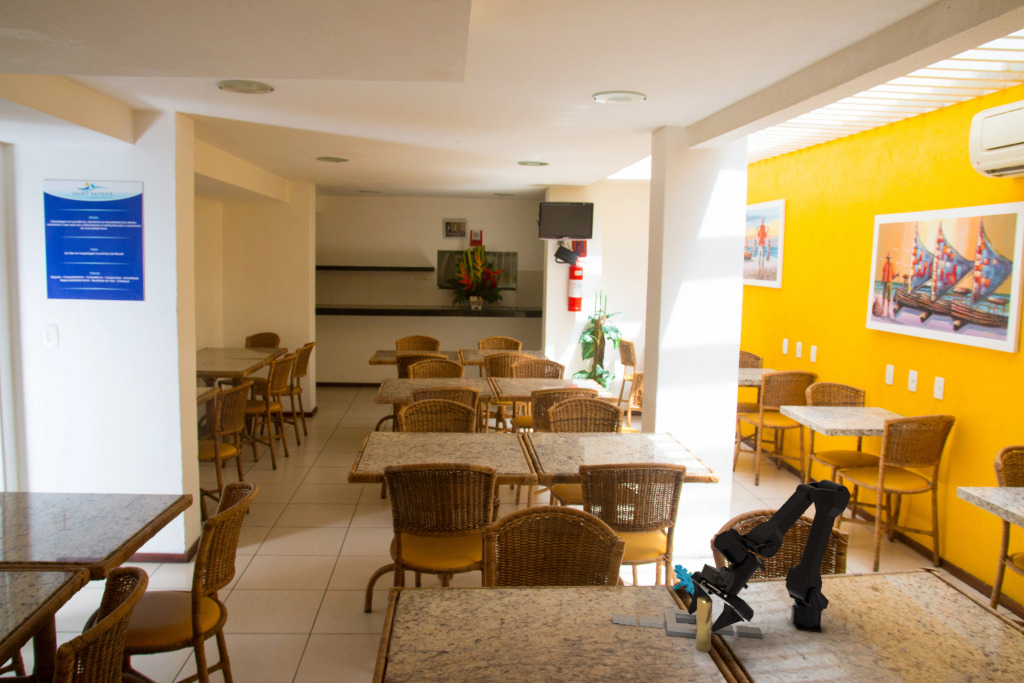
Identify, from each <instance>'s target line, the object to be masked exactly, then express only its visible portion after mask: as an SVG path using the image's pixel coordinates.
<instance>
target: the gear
mask: <svg viewBox="0 0 1024 683" xmlns="http://www.w3.org/2000/svg"><path fill="white" fill-rule="evenodd" d="M673 567H674V569H673V572H675V573H676V574H675V577H676V579H677V580H679V583H677V584H676V585H675V586H673V587H672V589H673V590H674V591H677V590H678V589H679V588H681V587H684V586H685V587H686V588H685V590H686V592H687V593H688V594H689V593H690V594H691V595H692V596H693V594H694V585H693V584H692V581H693V580H692V579H691V578H690V577H691V576H692V575H693V572H692V571H689V570H688V569H687V567H683V565H682V564H675V565H674V566H673Z"/></svg>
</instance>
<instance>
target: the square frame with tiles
mask: <svg viewBox="0 0 1024 683" xmlns="http://www.w3.org/2000/svg"><path fill="white" fill-rule="evenodd" d="M688 610H689V609H688ZM688 610H687V609H678V608H677V609H675V608H665V626H666V636H671V637H678V638H679V637H680V638H689V639H690V638H691V639H696V621H697V611H695V612H694V613H693V614H691V615H690V614H689V613H688ZM612 614H613V615H612V624H614V623H619V624H618V625H624V624H625V625H626V626H637V615H633V614H623V613H612ZM638 620H639V622H638V623H639V627H644V628H645V627H646V628H656V629H663V628H664V621H663V618H662V617H654V616H645V615H644V616H643V615H639V619H638ZM714 623H715V622H712V623H711V627H712V626H713V624H714ZM735 631H736V635H737V637H744V638H745V637H746V638H755V639H763V632H762V629H761V627H756V626H746V625H745V626H744V625H735V629H734V626H733V624H731V625H729V626H726V627H724V628H722V629H720V630H718V631H715V632H713V631H712V630H711V634H714V633H717V634H716V635H725V636H726V635H727V636H735Z"/></svg>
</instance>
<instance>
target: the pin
mask: <svg viewBox="0 0 1024 683" xmlns="http://www.w3.org/2000/svg"><path fill="white" fill-rule="evenodd" d="M712 617H713V599H712V598H708V597H699V598H698V599H697V621H696V624H695V625H696V638H695V646H694V647H695V649H696V650H697V651H699V652H703V653H706V652H707V653H708V652H710V651H711V644H712V643H711V641H712V638H711V637H712V633H711V623H713V622H712V620H713V618H712Z"/></svg>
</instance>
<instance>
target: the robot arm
mask: <svg viewBox="0 0 1024 683" xmlns="http://www.w3.org/2000/svg"><path fill="white" fill-rule="evenodd" d="M850 499H851V492H850V490H849V488H848V487H847V486H846V485H844V484H840V483H838V482H834V481H832V480H829V479H821V480H820V481H810V482H808V483H800V484H797V486H796V488H795V491H794V492H793V493H792V495H790V496H789V498H787V500H786V501H785V502H784V503H783V504H782V505H781V507H779V508H778V509H777V511H776V512H775V513H774V514H773V515H772V516H771V517H770V518H769V519H768V520H767V521H764V522H762V523H758V524H757V525H756V526H754V527H753V528H751V530H750V531H748V532H747V533H743V534H741V533H740V531H738V530H737V529H736V528H733V527H730V529H728V530H724V531H721V532H720V533H719V534H716V536H715V537H714V540H713V546H714V548H715V549H716V550H717V551H718V552H719V553H720V554H721V555H722V557H723V558H724V559H725V560H726V561H727V562H728V563H730V564H728V566H725V565H723V566H721V567H720V568H717V567H715V566H711V565H709V564H706V563H704V565H703V567H702V570H701V571H699V570H697V571H696V570H695V571H694V572H692V574H693V575H692V576H691V577H690V578H691V579H692V580H693V581H692V584H693V585H694V594H693V595H692V598H691V601H690V603H689V604H690V605H689V607H688V613H689V614H690V615H691V614H693V613H694V612H695V611H697V599H698V598H699V597H708V598H710V599H712V597H711V595H715V596H716V597H718V598H719V599H721V600H722V601H724V602H723V610H722V611H721V613H720V614H719V616H718V617H717V619H716V620H715V621H714V622H713V623H714V624H713V626H712V627H711V630H712V631H713V632H715V631H718V630H720V629H722V628H724V627H726V626H729V625H735V624H737V623H739V622H741V623H742V622H743V623H745V620H746V622H750V621H751V620H753V618H754V615H755V610H754V609H753V608H752V607H751V606H750V605H749V604H748V603H747V602H746V601H745V600H744V599H743V598H741V597H740V596H738V595H739V593H740V592H741V591H742V590H743V589H744V590H748V588H749V585H748V584H747V583H748V582H749V581H750V580H751V578H752V577H753V576H754V574H755V573H756V572H757V570H760V571H762V572H765V571H766V565H765V560H764V559H772V558H774V556H776V554H777V553H778V551H779V550H780V548H782V545H783V544H784V536H785V535H786V533H787V532H788V531H789V530H790V529H791V528H792V527H793V525H795V523H796V522H797V521H798V520H799V519H800V518H801V517H802V515H804V514H805V512H806V511H807V510H808V509H809V508H810V507H811V506H812V505H814V509H815V511H814V512H815V513H814V517H813V520H812V522H811V526H810V528H809V532H808V536H807V539H806V541H805V542H806V543H805V546H804V549H803V553H802V556H801V559H800V561H799V563H798V564H797V565H795V566H794V567H793V566H790V567H789V568H788V571H787V576H786V578H785V579H784V581H785V588H786V590H787V592H788V596H789V598H790V599H793V600H794V601H793V604H792V605H791V613H790V614H791V616H790V617H791V618H790V620H791V621H792V623H793V625H794V627H795V629H796V630H798V631H799V630H800V631H810V632H819V631H820V632H823V628H822V625H821V624H822V623H821V622H822V612H824V610H826V609H828V605H829V602H830V600H829V599H828V598H827V597H826V596H825V595H824V594H823V592H822V588H823V579H822V575H821V567H822V563H823V560H824V558H825V557H824V556H825V554H826V551H827V548H828V545H829V541H830V537H831V534H832V532H833V529H834V525H835V521H836V519H837V518H838V517H840V515H842V513H843V512H845V511H846V508H847V506H848V504H849V502H850ZM757 555H758V556H760V557H758V556H757ZM761 557H763V558H764V559H763V558H761Z"/></svg>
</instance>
